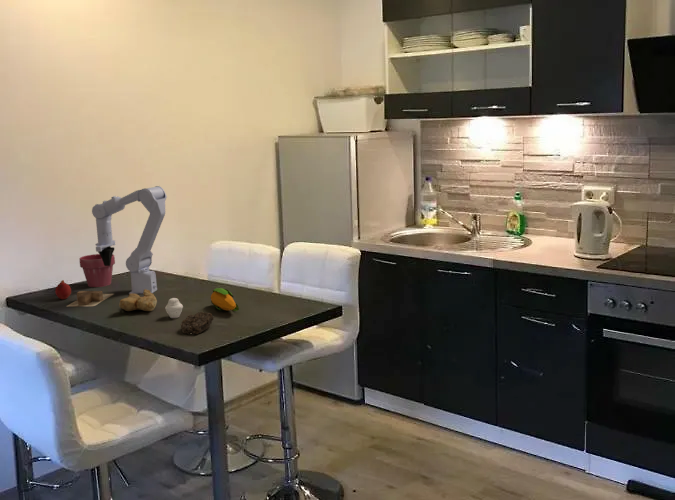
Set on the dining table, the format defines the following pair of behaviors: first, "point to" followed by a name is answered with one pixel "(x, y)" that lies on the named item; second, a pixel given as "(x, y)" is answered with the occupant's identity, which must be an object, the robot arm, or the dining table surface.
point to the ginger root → (139, 302)
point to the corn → (223, 299)
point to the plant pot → (96, 270)
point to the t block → (89, 297)
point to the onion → (63, 290)
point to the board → (91, 302)
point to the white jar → (174, 308)
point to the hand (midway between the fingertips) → (107, 265)
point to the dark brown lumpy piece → (196, 323)
